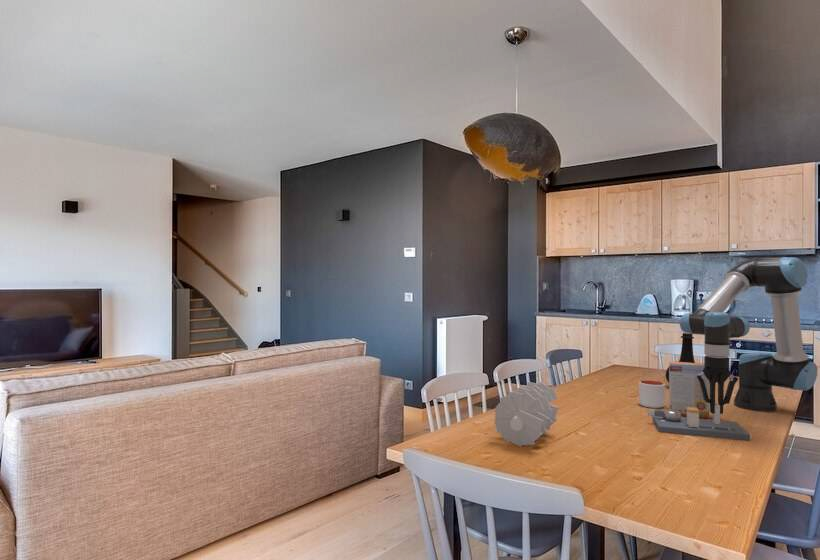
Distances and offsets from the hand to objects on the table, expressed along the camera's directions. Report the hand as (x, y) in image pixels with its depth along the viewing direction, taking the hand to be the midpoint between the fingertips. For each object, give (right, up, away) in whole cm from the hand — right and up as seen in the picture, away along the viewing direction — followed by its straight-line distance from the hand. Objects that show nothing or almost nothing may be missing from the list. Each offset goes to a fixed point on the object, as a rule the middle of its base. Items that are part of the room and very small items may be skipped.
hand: (716, 422), depth 176 cm
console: (-4, -4, +5) cm, 7 cm away
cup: (-4, -4, +39) cm, 39 cm away
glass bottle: (+29, -4, +72) cm, 77 cm away
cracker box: (+4, -4, +24) cm, 25 cm away
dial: (-13, -2, +11) cm, 17 cm away
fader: (-7, -2, +2) cm, 8 cm away
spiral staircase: (-69, -4, -6) cm, 69 cm away
